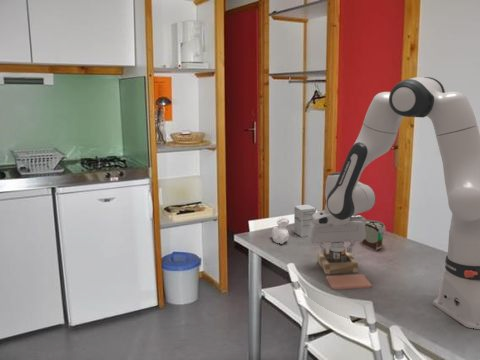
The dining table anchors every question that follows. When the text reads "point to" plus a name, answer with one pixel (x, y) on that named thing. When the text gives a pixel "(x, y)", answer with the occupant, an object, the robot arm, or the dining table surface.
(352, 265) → the block
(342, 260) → the pill bottle
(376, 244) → the food container
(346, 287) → the mat
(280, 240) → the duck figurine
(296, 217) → the supplement box
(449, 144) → the robot arm
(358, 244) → the dining table surface
